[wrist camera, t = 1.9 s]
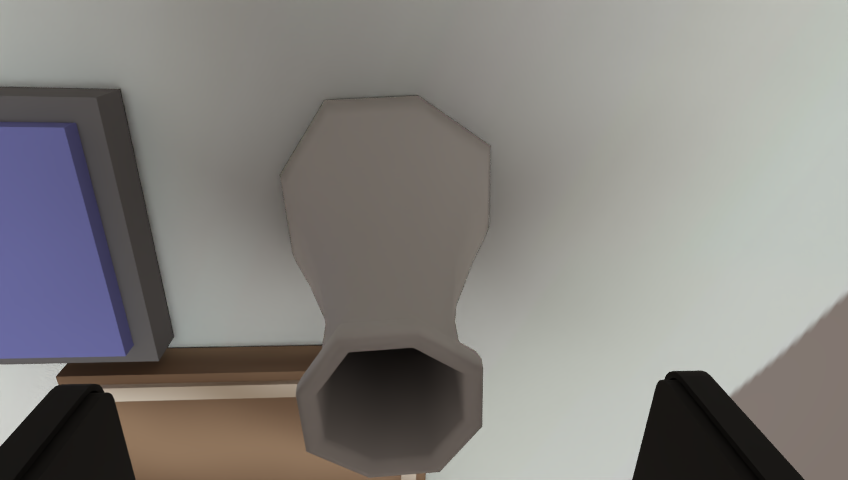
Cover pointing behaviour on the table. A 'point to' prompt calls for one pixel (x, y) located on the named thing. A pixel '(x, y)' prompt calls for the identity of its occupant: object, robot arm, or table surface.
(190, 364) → the marked board
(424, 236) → the flask
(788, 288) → the table surface
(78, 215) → the ink pad
